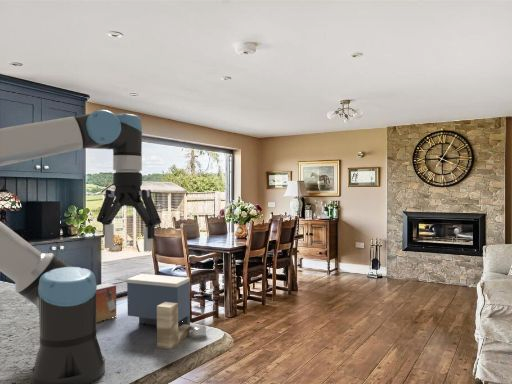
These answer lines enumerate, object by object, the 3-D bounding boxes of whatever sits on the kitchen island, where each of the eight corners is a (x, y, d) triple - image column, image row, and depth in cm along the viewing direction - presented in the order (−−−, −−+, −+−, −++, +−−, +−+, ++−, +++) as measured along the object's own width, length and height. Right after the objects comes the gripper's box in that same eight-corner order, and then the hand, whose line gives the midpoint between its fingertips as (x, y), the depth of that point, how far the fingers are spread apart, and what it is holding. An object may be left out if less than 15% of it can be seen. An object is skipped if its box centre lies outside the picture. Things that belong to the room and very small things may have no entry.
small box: (94, 324, 127) (93, 290, 127) (84, 320, 130) (84, 287, 130) (117, 317, 133) (116, 284, 133) (107, 314, 137) (106, 282, 136)
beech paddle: (170, 349, 107) (170, 307, 107) (157, 347, 108) (156, 306, 108) (194, 332, 119) (193, 294, 119) (182, 330, 121) (181, 293, 120)
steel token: (201, 340, 114) (201, 331, 114) (185, 338, 115) (185, 329, 115) (208, 334, 118) (208, 325, 118) (193, 332, 120) (193, 324, 120)
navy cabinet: (177, 336, 116) (176, 283, 116) (126, 329, 122) (125, 279, 121) (190, 327, 123) (189, 277, 123) (141, 321, 129) (141, 273, 129)
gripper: (173, 171, 111) (174, 250, 111) (103, 172, 121) (103, 244, 122) (156, 170, 104) (156, 254, 105) (83, 172, 114) (83, 248, 115)
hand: (128, 249), depth 113 cm, fingers open, 13 cm apart
